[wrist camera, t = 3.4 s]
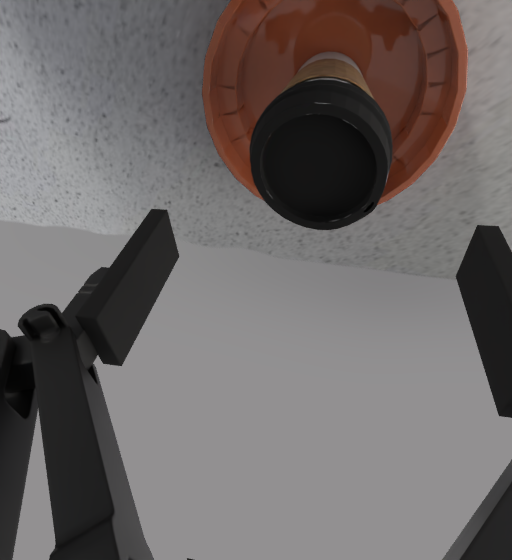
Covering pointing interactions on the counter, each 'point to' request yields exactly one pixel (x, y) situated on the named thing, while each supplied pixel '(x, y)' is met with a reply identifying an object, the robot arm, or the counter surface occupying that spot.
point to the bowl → (355, 44)
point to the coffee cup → (322, 146)
